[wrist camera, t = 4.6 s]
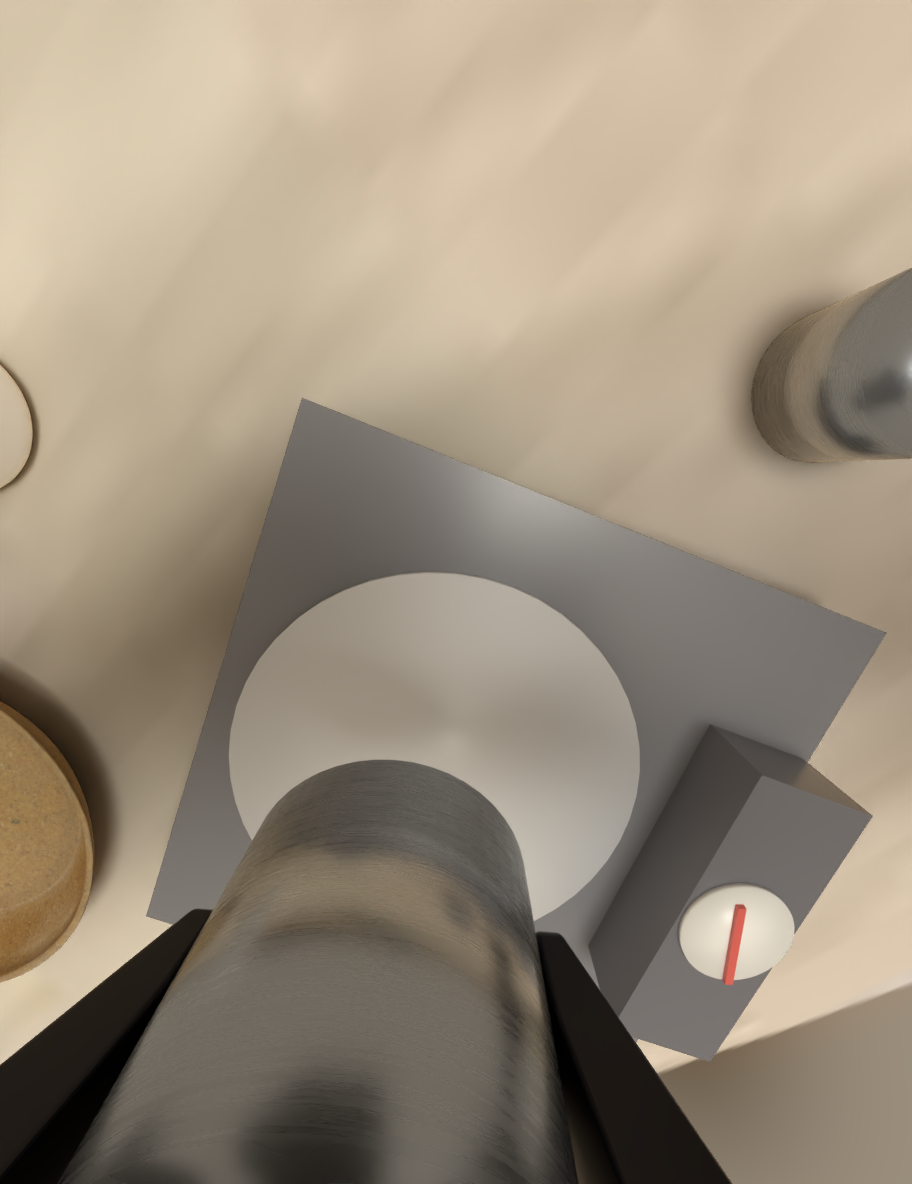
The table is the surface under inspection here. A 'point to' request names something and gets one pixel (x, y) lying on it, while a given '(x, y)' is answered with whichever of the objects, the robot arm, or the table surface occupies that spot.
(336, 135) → the table surface
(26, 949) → the plant saucer
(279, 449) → the table surface
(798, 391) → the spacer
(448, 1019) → the cylinder
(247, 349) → the table surface
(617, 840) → the kitchen scale
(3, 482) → the drinking glass
